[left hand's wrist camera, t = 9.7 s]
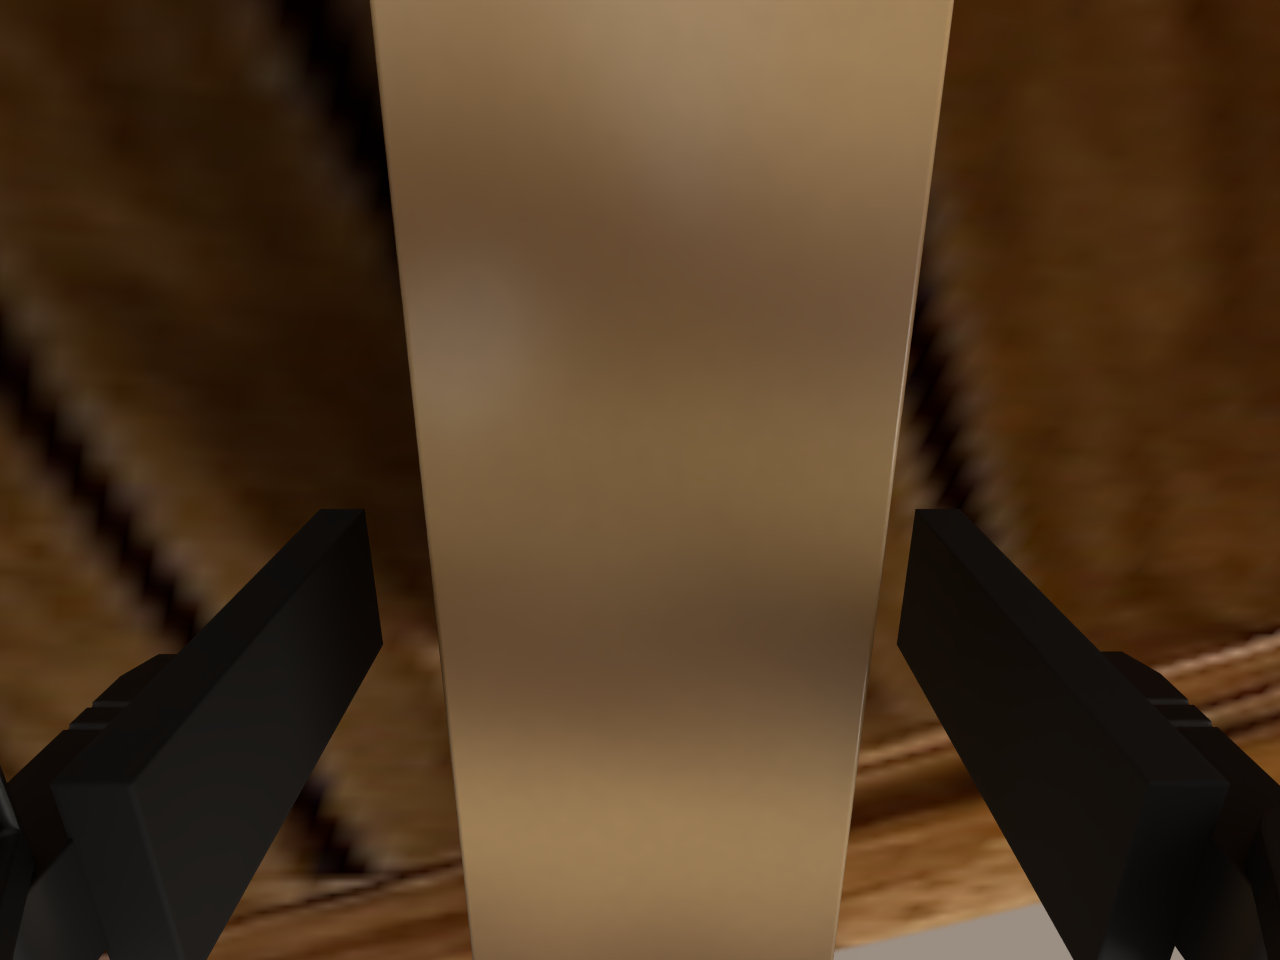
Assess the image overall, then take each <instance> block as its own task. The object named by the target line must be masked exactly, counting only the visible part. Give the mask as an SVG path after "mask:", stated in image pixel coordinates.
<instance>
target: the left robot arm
mask: <svg viewBox="0 0 1280 960" xmlns="http://www.w3.org/2000/svg"><path fill="white" fill-rule="evenodd" d="M382 645H383V640H382V633H381V626H380V618H379V611H378V604H377V597H376V589H375V582H374V575H373V568H372V561H371V553H370V546H369V539H368V532H367V524H366V517H365V510H364V509H320V510H319V511H318V512H317V513H316V514H315V515H314V516H313V517H312V518H311V519H310V520H309V521H308V522H307V523H306V524H305V525H304V526H303V527H302V529H301V530H300V531H299V532H298V533H297V534H296V535H295V536H294V537H293V538H292V539H291V540H290V541H289V542H288V543H287V544H286V545H285V546H284V547H283V548H282V549H281V550H280V551H279V552H278V553H277V554H276V555H275V556H274V557H273V558H272V559H271V560H270V561H269V562H268V563H267V564H266V565H265V566H264V567H263V568H262V569H261V570H260V571H259V572H258V573H257V574H256V575H255V576H254V577H253V578H252V579H251V580H250V581H249V582H248V583H247V584H246V585H245V586H244V587H243V588H242V589H241V590H240V591H239V592H238V593H237V594H236V595H235V596H234V597H233V598H232V599H231V600H230V601H229V602H228V603H227V604H226V605H225V606H224V607H223V609H222V610H221V611H220V612H219V613H218V614H217V615H216V616H215V617H214V618H213V619H212V620H211V621H210V622H209V623H208V624H207V625H206V626H205V627H204V628H203V629H202V630H201V631H200V632H199V633H198V634H197V635H196V636H195V637H194V638H193V639H192V640H191V641H190V642H189V643H188V644H187V645H186V646H185V647H184V648H183V649H182V650H181V651H180V652H179V653H178V654H158V655H156V656H155V657H153V658H151V659H150V660H148V661H146V662H144V663H143V664H141V665H139V666H137V667H136V668H134V669H132V670H130V671H129V672H127V673H125V674H124V675H122V676H120V677H119V678H118V679H117V680H116V681H115V682H114V683H113V684H112V685H111V686H110V687H109V688H107V689H106V690H105V691H104V692H103V693H102V694H101V695H100V696H99V697H98V698H97V699H96V700H95V701H94V702H93V706H92V708H86V709H85V710H84V711H83V712H82V713H81V714H80V715H79V716H78V717H77V718H76V719H75V720H74V721H73V722H71V723H70V724H69V725H70V727H69V730H63V731H62V732H61V733H60V734H59V735H58V736H57V737H56V738H55V739H53V740H52V741H51V742H50V743H49V744H48V745H47V746H46V747H45V748H44V749H43V750H42V751H41V752H40V753H39V754H38V755H37V756H35V757H34V758H33V759H32V760H31V761H30V762H29V763H28V764H27V765H26V766H25V767H24V768H23V769H22V770H21V771H20V772H19V773H17V774H16V775H15V776H14V777H13V778H12V779H11V780H10V781H9V782H8V783H7V782H6V780H5V777H4V774H3V772H2V769H1V766H0V960H98V959H99V958H100V956H101V955H102V954H103V952H104V951H105V949H106V950H107V953H108V956H109V958H110V960H207V958H208V956H209V954H210V952H211V951H212V949H213V947H214V945H215V943H216V942H217V940H218V938H219V936H220V935H221V933H222V931H223V929H224V927H225V926H226V924H227V922H228V920H229V918H230V917H231V915H232V913H233V911H234V910H235V908H236V906H237V904H238V902H239V901H240V899H241V897H242V895H243V894H244V892H245V890H246V888H247V886H248V885H249V883H250V881H251V879H252V877H253V876H254V874H255V872H256V870H257V869H258V867H259V865H260V863H261V861H262V860H263V858H264V856H265V854H266V852H267V851H268V849H269V847H270V845H271V844H272V842H273V840H274V838H275V836H276V835H277V833H278V831H279V829H280V827H281V826H282V824H283V822H284V820H285V819H286V817H287V815H288V813H289V811H290V810H291V808H292V806H293V804H294V802H295V801H296V799H297V797H298V795H299V794H300V792H301V790H302V788H303V786H304V785H305V783H306V781H307V779H308V777H309V776H310V774H311V772H312V770H313V769H314V767H315V765H316V763H317V761H318V760H319V758H320V756H321V754H322V752H323V751H324V749H325V747H326V745H327V744H328V742H329V740H330V738H331V736H332V735H333V733H334V731H335V729H336V727H337V726H338V724H339V722H340V720H341V719H342V717H343V715H344V713H345V711H346V710H347V708H348V706H349V704H350V702H351V701H352V699H353V697H354V695H355V694H356V692H357V690H358V688H359V686H360V685H361V683H362V681H363V679H364V678H365V676H366V674H367V672H368V670H369V669H370V667H371V665H372V663H373V661H374V660H375V658H376V656H377V654H378V653H379V651H380V649H381V647H382ZM897 645H898V647H899V649H900V651H901V652H902V654H903V656H904V658H905V660H906V661H907V663H908V665H909V667H910V669H911V670H912V672H913V674H914V676H915V677H916V679H917V681H918V683H919V685H920V686H921V688H922V690H923V692H924V694H925V695H926V697H927V699H928V701H929V702H930V704H931V706H932V708H933V710H934V711H935V713H936V715H937V717H938V719H939V720H940V722H941V724H942V726H943V727H944V729H945V731H946V733H947V735H948V736H949V738H950V740H951V742H952V744H953V745H954V747H955V749H956V751H957V752H958V754H959V756H960V758H961V760H962V761H963V763H964V765H965V767H966V769H967V770H968V772H969V774H970V776H971V777H972V779H973V781H974V783H975V785H976V786H977V788H978V790H979V792H980V794H981V795H982V797H983V799H984V801H985V802H986V804H987V806H988V808H989V810H990V811H991V813H992V815H993V817H994V819H995V820H996V822H997V824H998V826H999V827H1000V829H1001V831H1002V833H1003V835H1004V836H1005V838H1006V840H1007V842H1008V844H1009V845H1010V847H1011V849H1012V851H1013V852H1014V854H1015V856H1016V858H1017V860H1018V861H1019V863H1020V865H1021V867H1022V868H1023V870H1024V872H1025V874H1026V876H1027V877H1028V879H1029V881H1030V883H1031V885H1032V886H1033V888H1034V890H1035V892H1036V893H1037V895H1038V897H1039V899H1040V901H1041V902H1042V904H1043V906H1044V908H1045V909H1046V911H1047V913H1048V915H1049V917H1050V918H1051V920H1052V922H1053V924H1054V926H1055V927H1056V929H1057V931H1058V933H1059V935H1060V936H1061V938H1062V940H1063V942H1064V943H1065V945H1066V947H1067V949H1068V951H1069V952H1070V954H1071V956H1072V958H1073V960H1170V959H1171V956H1172V953H1173V950H1174V947H1175V946H1176V948H1177V949H1178V951H1179V952H1180V954H1181V955H1182V956H1183V958H1184V959H1185V960H1280V785H1279V784H1278V783H1276V782H1275V781H1274V780H1273V779H1272V778H1271V777H1270V776H1269V775H1268V774H1267V773H1266V772H1265V771H1264V770H1263V769H1262V768H1260V767H1259V766H1258V765H1257V764H1256V763H1255V762H1254V761H1253V760H1252V759H1251V758H1250V757H1249V756H1248V755H1247V754H1246V753H1244V752H1243V751H1242V750H1241V749H1240V748H1239V747H1238V746H1237V745H1236V744H1235V743H1234V742H1233V741H1232V740H1231V739H1230V738H1228V737H1227V736H1226V735H1225V734H1224V733H1223V732H1222V731H1221V730H1220V729H1219V728H1218V727H1212V724H1211V721H1210V720H1209V719H1208V718H1207V717H1206V716H1205V715H1204V714H1203V713H1202V712H1201V711H1200V710H1199V709H1198V708H1196V707H1195V706H1194V705H1189V703H1188V699H1187V698H1186V697H1185V696H1184V695H1183V694H1182V693H1180V692H1179V691H1178V690H1177V689H1176V688H1175V687H1174V686H1173V685H1172V684H1171V683H1170V682H1169V681H1168V680H1167V679H1166V678H1164V677H1163V676H1162V675H1161V674H1160V673H1158V672H1157V671H1155V670H1153V669H1151V668H1150V667H1148V666H1146V665H1144V664H1143V663H1141V662H1139V661H1137V660H1136V659H1134V658H1132V657H1130V656H1129V655H1127V654H1125V653H1123V652H1100V651H1099V650H1098V649H1097V648H1096V647H1095V646H1094V645H1093V644H1092V643H1091V642H1090V641H1089V640H1088V639H1087V638H1086V637H1085V636H1084V635H1083V634H1082V633H1081V632H1080V631H1079V630H1078V629H1077V628H1076V627H1075V626H1074V625H1073V624H1072V623H1071V622H1070V621H1069V620H1068V619H1067V618H1066V617H1065V616H1064V615H1063V614H1062V613H1061V612H1060V611H1059V610H1058V608H1057V607H1056V606H1055V605H1054V604H1053V603H1052V602H1051V601H1050V600H1049V599H1048V598H1047V597H1046V596H1045V595H1044V594H1043V593H1042V592H1041V591H1040V590H1039V589H1038V588H1037V587H1036V586H1035V585H1034V584H1033V583H1032V582H1031V581H1030V580H1029V579H1028V578H1027V577H1026V576H1025V575H1024V574H1023V573H1022V572H1021V571H1020V570H1019V569H1018V568H1017V567H1016V566H1015V565H1014V564H1013V563H1012V562H1011V561H1010V560H1009V559H1008V558H1007V557H1006V556H1005V555H1004V554H1003V553H1002V552H1001V551H1000V550H999V549H998V548H997V547H996V546H995V545H994V544H993V543H992V542H991V541H990V540H989V539H988V538H987V537H986V536H985V535H984V534H983V533H982V532H981V531H980V530H979V528H978V527H977V526H976V525H975V524H974V523H973V522H972V521H971V520H970V519H969V518H968V517H967V516H966V515H965V514H964V513H963V512H962V511H961V510H960V509H916V510H915V517H914V524H913V532H912V539H911V546H910V553H909V561H908V568H907V575H906V582H905V590H904V597H903V604H902V611H901V619H900V626H899V633H898V640H897Z"/></svg>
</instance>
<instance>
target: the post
mask: <svg viewBox="0 0 1280 960" xmlns="http://www.w3.org/2000/svg"><path fill="white" fill-rule="evenodd" d="M953 4H954V0H370V10H371V19H372V28H373V38H374V47H375V56H376V66H377V75H378V84H379V93H380V103H381V112H382V121H383V131H384V140H385V149H386V159H387V168H388V177H389V186H390V196H391V205H392V214H393V224H394V233H395V242H396V252H397V261H398V270H399V279H400V289H401V298H402V307H403V317H404V326H405V335H406V345H407V354H408V363H409V372H410V382H411V391H412V400H413V410H414V419H415V428H416V437H417V447H418V456H419V465H420V475H421V484H422V493H423V503H424V512H425V521H426V530H427V540H428V549H429V558H430V568H431V577H432V586H433V596H434V605H435V614H436V623H437V633H438V642H439V651H440V661H441V670H442V679H443V689H444V698H445V707H446V716H447V726H448V735H449V744H450V754H451V763H452V772H453V782H454V791H455V800H456V809H457V819H458V828H459V837H460V847H461V856H462V865H463V875H464V884H465V893H466V902H467V912H468V921H469V930H470V940H471V949H472V958H473V960H833V957H834V949H835V941H836V933H837V925H838V917H839V909H840V902H841V894H842V886H843V878H844V870H845V862H846V854H847V846H848V838H849V830H850V822H851V814H852V806H853V798H854V790H855V782H856V774H857V767H858V759H859V751H860V743H861V735H862V727H863V719H864V711H865V703H866V695H867V687H868V679H869V671H870V663H871V655H872V647H873V639H874V631H875V624H876V616H877V608H878V600H879V592H880V584H881V576H882V568H883V560H884V552H885V544H886V536H887V528H888V520H889V512H890V504H891V496H892V489H893V481H894V473H895V465H896V457H897V449H898V441H899V433H900V425H901V417H902V409H903V401H904V393H905V385H906V377H907V369H908V361H909V354H910V346H911V338H912V330H913V322H914V314H915V306H916V298H917V290H918V282H919V274H920V266H921V258H922V250H923V242H924V234H925V226H926V218H927V211H928V203H929V195H930V187H931V179H932V171H933V163H934V155H935V147H936V139H937V131H938V123H939V115H940V107H941V99H942V91H943V83H944V76H945V68H946V60H947V52H948V44H949V36H950V28H951V20H952V12H953Z"/></svg>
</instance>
